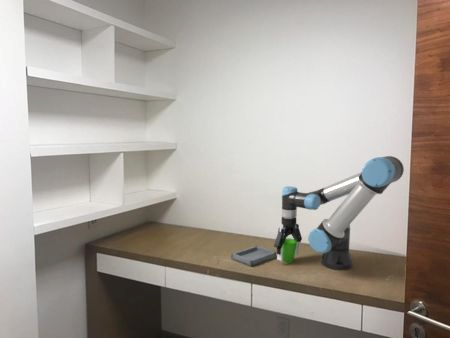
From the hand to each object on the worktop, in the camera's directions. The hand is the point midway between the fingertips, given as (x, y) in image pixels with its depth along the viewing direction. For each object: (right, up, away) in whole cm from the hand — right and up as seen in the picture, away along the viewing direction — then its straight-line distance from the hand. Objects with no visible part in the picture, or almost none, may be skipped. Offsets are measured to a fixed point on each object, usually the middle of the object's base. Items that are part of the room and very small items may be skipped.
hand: (288, 256), depth 186 cm
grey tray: (-17, -2, +5) cm, 18 cm away
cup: (0, -3, 0) cm, 3 cm away
